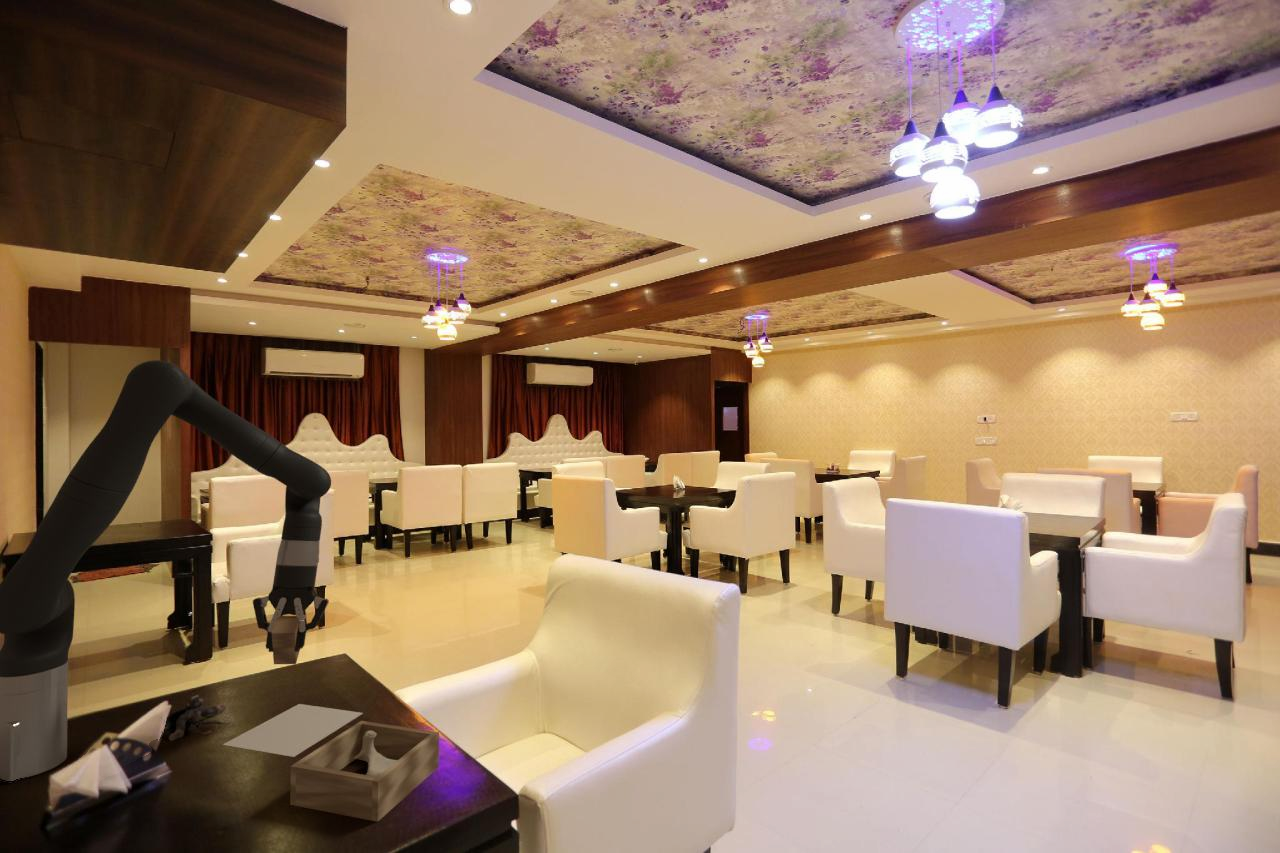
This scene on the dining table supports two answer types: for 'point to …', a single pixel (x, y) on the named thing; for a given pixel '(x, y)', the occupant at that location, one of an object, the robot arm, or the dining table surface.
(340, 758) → the bone crate
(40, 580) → the robot arm
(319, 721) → the mat
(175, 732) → the dark grey knobby piece
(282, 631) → the walnut block
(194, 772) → the dining table surface
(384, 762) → the bone
